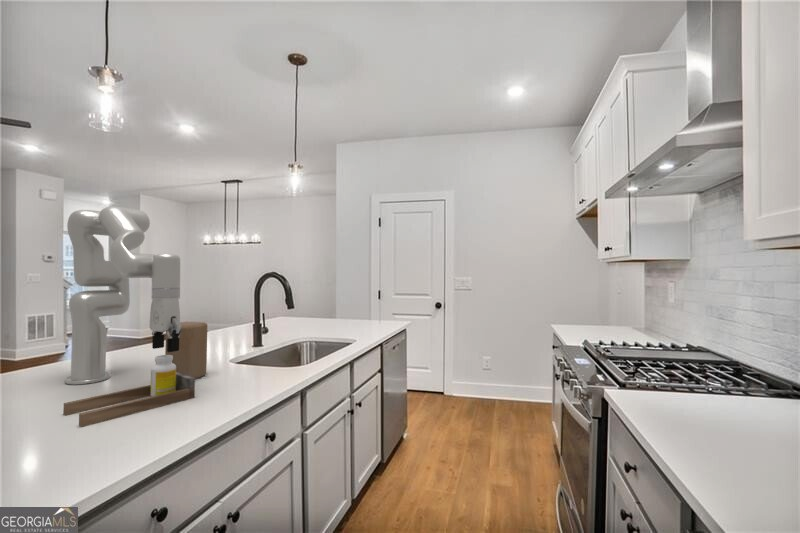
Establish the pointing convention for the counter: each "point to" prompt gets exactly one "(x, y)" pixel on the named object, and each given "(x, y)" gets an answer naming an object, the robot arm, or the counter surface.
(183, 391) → the shelf lane
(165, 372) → the supplement bottle
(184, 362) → the block
